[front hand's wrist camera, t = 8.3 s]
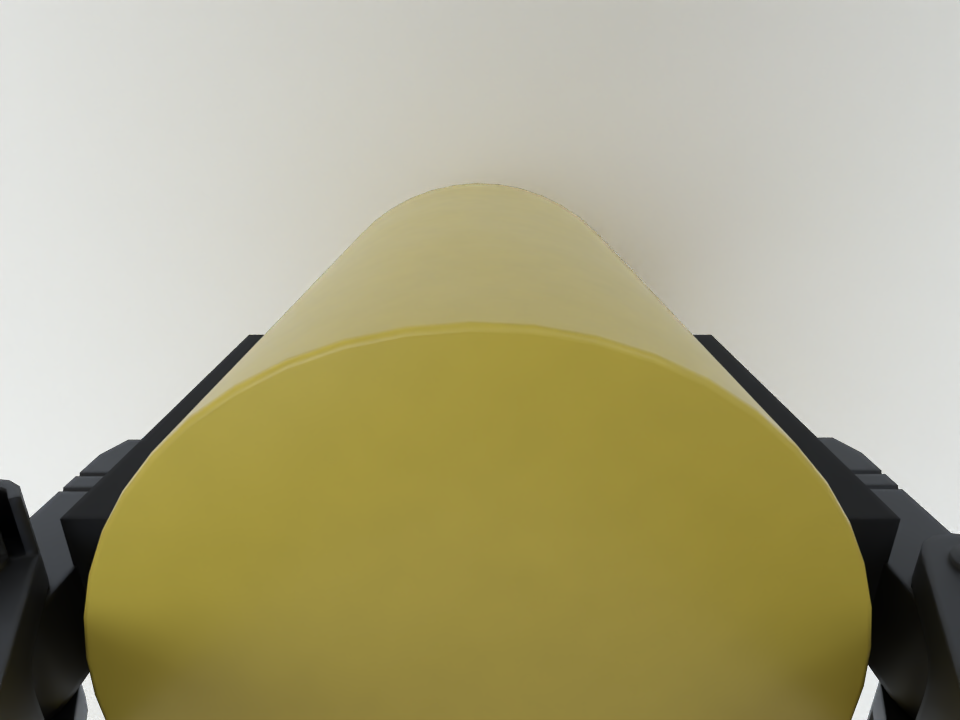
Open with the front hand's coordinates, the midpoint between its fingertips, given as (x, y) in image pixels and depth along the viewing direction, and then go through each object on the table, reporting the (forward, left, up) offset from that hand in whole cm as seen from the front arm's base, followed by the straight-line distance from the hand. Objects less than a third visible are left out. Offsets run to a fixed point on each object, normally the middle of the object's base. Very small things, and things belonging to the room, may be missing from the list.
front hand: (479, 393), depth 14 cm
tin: (0, 0, -3) cm, 3 cm away
